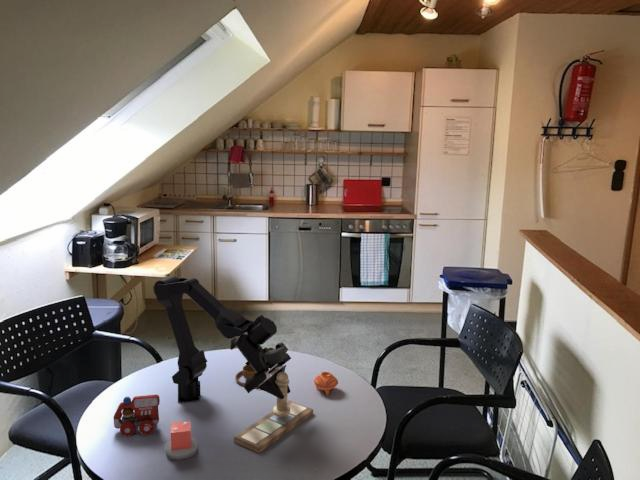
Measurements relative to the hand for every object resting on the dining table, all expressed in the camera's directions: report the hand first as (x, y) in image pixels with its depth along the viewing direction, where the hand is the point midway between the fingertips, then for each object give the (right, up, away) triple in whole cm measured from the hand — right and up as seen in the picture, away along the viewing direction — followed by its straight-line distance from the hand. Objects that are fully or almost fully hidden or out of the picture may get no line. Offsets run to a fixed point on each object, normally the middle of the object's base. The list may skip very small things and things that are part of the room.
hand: (286, 395), depth 157 cm
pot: (+12, -5, +22) cm, 26 cm away
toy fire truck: (-42, -9, -3) cm, 43 cm away
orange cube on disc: (-27, -11, -12) cm, 32 cm away
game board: (-3, -9, 0) cm, 10 cm away
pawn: (-1, -5, +2) cm, 6 cm away
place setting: (-10, -3, +32) cm, 33 cm away
